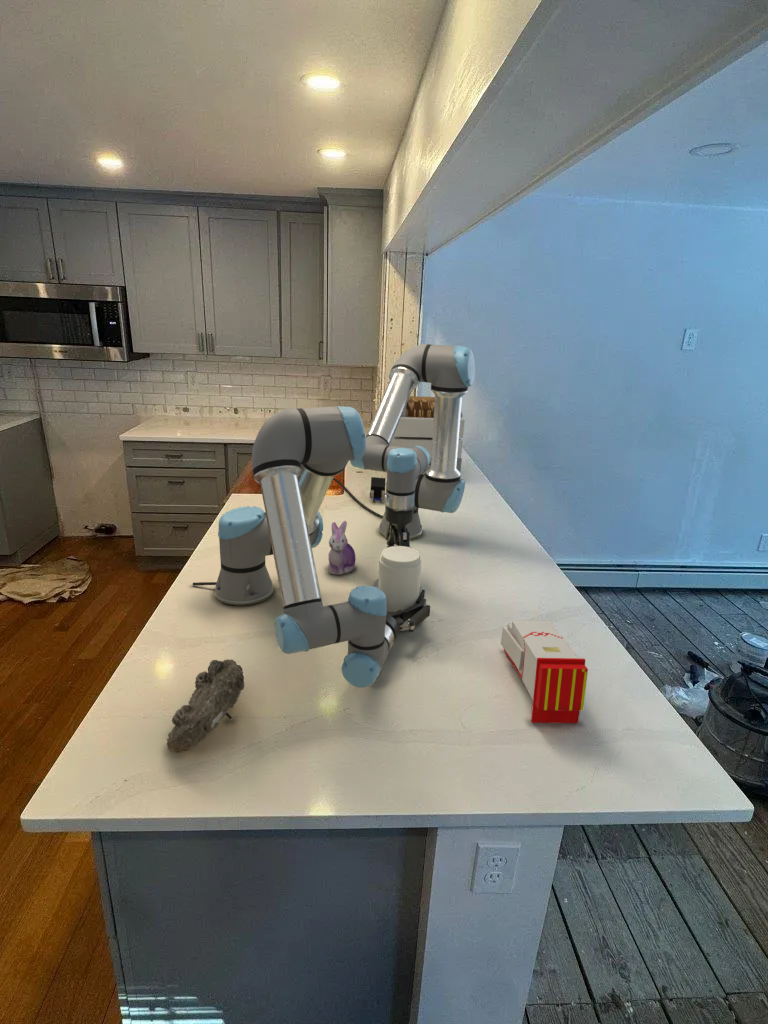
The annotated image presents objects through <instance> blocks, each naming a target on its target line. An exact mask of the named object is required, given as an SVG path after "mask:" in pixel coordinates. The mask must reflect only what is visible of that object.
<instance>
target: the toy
mask: <svg viewBox="0 0 768 1024" xmlns="http://www.w3.org/2000/svg"><path fill="white" fill-rule="evenodd" d="M500 645H501V646H502V648H503V652H504V654H505V655H506V657H507V658H508V660H509V661H510V663H511V664H512V666H513V668H514V669H515V671H516V672H517V674H518V676H519V677H520V679H521V680H522V683H523V685H524V686H525V688H526V690H527V692H528V694H529V696H530V697H531V699H532V708H531V719H530V722H531V723H532V724H579V719H580V712H583V711H584V706H585V697H586V689H587V680H588V671H589V669H588V667H587V666H586V659H585V658H580V657H579V656H578V655H577V654H576V652H575V651H574V650H573V648H572V647H571V646H570V645H569V644H568V642H567V641H566V640H565V638H564V637H563V636H562V634H561V633H560V632H559V631H558V630H557V628H556V627H555V626H554V624H553V623H552V622H551V621H549V620H548V621H545V620H540V621H539V620H511V622H508V623H507V626H502V632H501V638H500Z"/></svg>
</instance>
